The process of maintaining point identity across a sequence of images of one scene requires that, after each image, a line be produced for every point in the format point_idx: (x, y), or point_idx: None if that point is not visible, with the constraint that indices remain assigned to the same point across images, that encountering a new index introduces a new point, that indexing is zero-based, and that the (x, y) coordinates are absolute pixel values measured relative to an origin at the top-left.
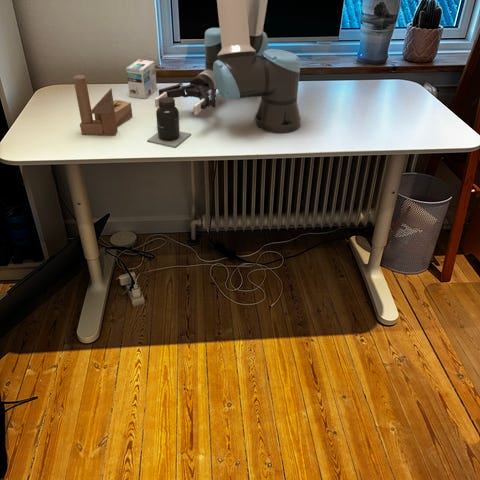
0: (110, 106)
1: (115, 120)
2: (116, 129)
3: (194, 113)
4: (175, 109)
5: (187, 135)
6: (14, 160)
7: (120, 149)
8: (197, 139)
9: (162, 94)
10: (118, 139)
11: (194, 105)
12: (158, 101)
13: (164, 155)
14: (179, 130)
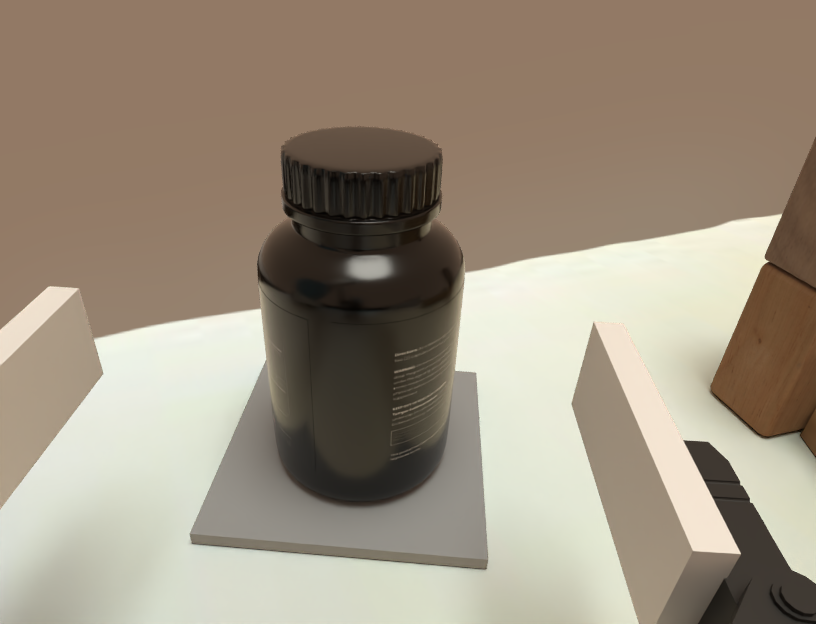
0: (788, 202)
1: (782, 354)
2: (750, 402)
3: (95, 364)
4: (278, 231)
5: (216, 493)
6: None
7: (546, 304)
8: (123, 491)
9: (672, 454)
10: (647, 366)
11: (68, 297)
12: (594, 376)
13: None
14: (273, 418)
